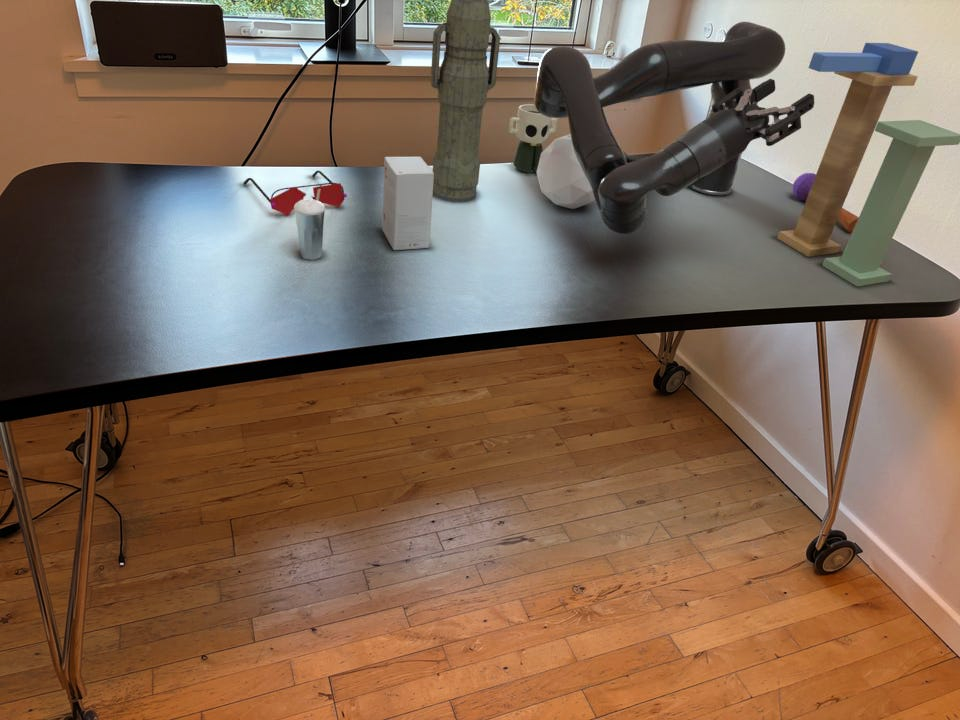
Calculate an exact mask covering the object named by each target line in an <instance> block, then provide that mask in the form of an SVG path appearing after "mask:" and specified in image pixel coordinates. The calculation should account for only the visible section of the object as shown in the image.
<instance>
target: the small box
mask: <svg viewBox="0 0 960 720" xmlns="http://www.w3.org/2000/svg"><path fill="white" fill-rule="evenodd" d="M383 162H384V164H383V194H382V196H383V197H382V223H381V224H382V228H381V230H382V232H383V234H384V235H385V238H386V239H387V241H388V243H389V245H390V247H391V249H392V250H393V251H403V250H405V251H406V250H418V249H428V248H430V243H431V229H432V228H431V226H432V213H433V211H432V210H433V198H434V197H433V196H434V194H433V182H434V173H433V169H431V168H430V167H429V165H428V164H427V163H426V162H425V160H424V159H423V158H422V156H384V161H383Z"/></svg>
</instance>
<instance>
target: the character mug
mask: <svg viewBox="0 0 960 720" xmlns="http://www.w3.org/2000/svg"><path fill="white" fill-rule="evenodd" d="M558 120H559V119H558V118H550V117H547V116H544V115H542V114H541V113H539V112H538V110H537V109H536V107H535V104H531V103H526V104H521V105H519V106H518V109H517V117H516V116H512V117H510V119H509V122H508V123H509V124H508V133H509V134H515V137H516V139H518V140H519V142H518V144H517V147H516V151H515V154H514V158H513V162H512V164H513V167H515V168H516V169H517V170H518V171H522V172H525V173H526V172H527V173H531V172H532V170H534V173H536V172H537V168H538V164H539V160H540V156H541V153H542V152H543V145H542V144H543V143H545V142H546V141H547V140H548V139H549V137H550V134H554V133H556V132H557V127H558ZM515 123H516V126H515V128H514V124H515ZM551 123H552V124H551ZM551 125H552V126H551Z"/></svg>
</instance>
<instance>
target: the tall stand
mask: <svg viewBox="0 0 960 720" xmlns="http://www.w3.org/2000/svg"><path fill="white" fill-rule="evenodd" d="M833 73H834V74H836V75H838V76H841V77H844V78H846V79H848V80H849V79H851V82H850V84H849V87H848V89H847V92H846V95H845V98H844V100H843V103H842V106H841V108H840V110H839V114H838V116H837V119H836V122H835V123H834V126H833V129H832V132H831V134H830V137H829V139H828V142H827V145H826V148H825V150H824V153H823V155H822V158H821V160H820V163H819V165H818V169H817V171H816V173H815V174H816V176H815V179H814V181H813V184H812V187H811V189H810V192H809V194H808V197H807V200H806V201H804V205H803V208H802V210H801V213H800V215H799V218H798V220H797V224H796V225H795V229H789V230H788V229H787V230H781V231H779V233H778V235H777V238H776V239H777V240H779V241H781V242H782V243H784V244H785V245H787V246H789V247H791V248H792V249H794V250H795V251H797V252H799V253H801V254H802V255H803V256H805V257H807V258H809V257H817V256H823V255H824V256H825V255H833V254H838V253H839V252H840V250H841V248H842V245H841V244H840V243H838V242H836V241H835V240H832V239H831V235H832V233H833V231H834V228H835V226H836V225H837V224H836V223H837V221H838V216H839V214H840V211H841V209H842V208H844V204H845V202H846V199H847V198H848V195H849V191H850V190H851V187H852V185H853V182H854V180H855V177H856V175H857V173H858V171H859V168H860V166H861V163H862V161H863V158H864V156H865V153H866V152H867V149H868V146H869V143H870V141H871V139H872V137H873V134H874V132H875V128H876V126H877V123H878V122H879V120H880V117H881V115H882V112H883V110H884V107H885V105H886V103H887V100H888V98H889V96H890V93H891V90H892V88H893V87H911V86H912V87H913V86H914V87H915V84H916V82H917V80H918V75H915V74H912V73H909V75H885V74H882V73H879V72H833Z"/></svg>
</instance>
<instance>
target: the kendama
mask: <svg viewBox="0 0 960 720" xmlns="http://www.w3.org/2000/svg"><path fill="white" fill-rule="evenodd" d="M815 176H816V173H814V172H805V173H802V174H801V175H799V176H797V178H796V179H795V180H794V182H793V185H792V192H793V195H794V197H795V198H797V199H798V200H800V201H802V202H806V200H807V197H808V194H809V192H810V189H811V187H812V184H813V181H814V179H815ZM858 218H859V216H857V215H855V214H854V213H853V212H850V211H849V210H847V209H845V208H844V207H842V209H841V211H840V214H839V216H838V219H837V221H838V222H839V223H840V224H841V225H842V227H844V228H845V230H846V231H847V232H848V233H850V234H852V232H853V230H854V227H855V225H856V223H857V221H858Z"/></svg>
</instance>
